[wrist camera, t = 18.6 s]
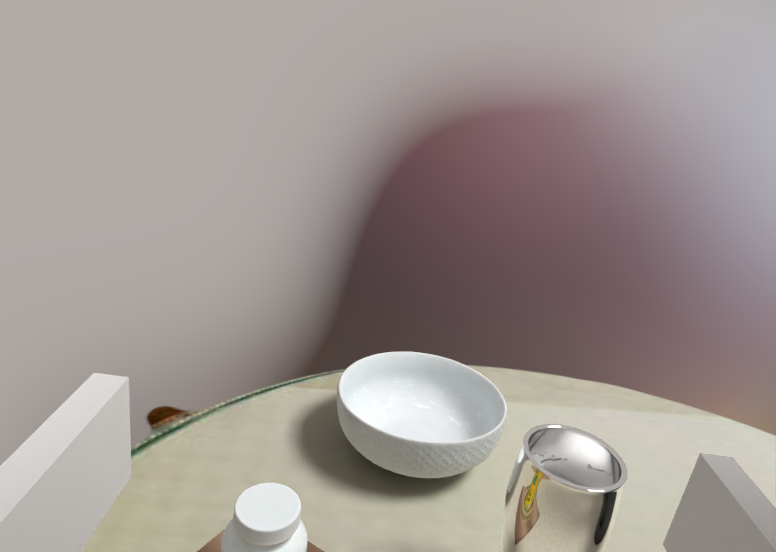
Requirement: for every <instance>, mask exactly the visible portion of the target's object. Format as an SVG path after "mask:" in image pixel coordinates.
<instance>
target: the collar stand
mask: <svg viewBox="0 0 776 552" xmlns="http://www.w3.org/2000/svg"><path fill="white" fill-rule="evenodd" d="M223 532H224V530H223V531H222V532H221V533H220V534H218V535H217V536H216V537H215V538H213V539H212V540H211V541H210V542H209V543H207V544H206V545H205V546H204V547H202V548H201V549H200V550H199V551H197V552H220V546H221V539H222V535H223ZM307 552H324V551H322V550H321V549H319V548H318V547H316V546H315V545H313V544H312V543H310V542H308V541H307Z"/></svg>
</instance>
